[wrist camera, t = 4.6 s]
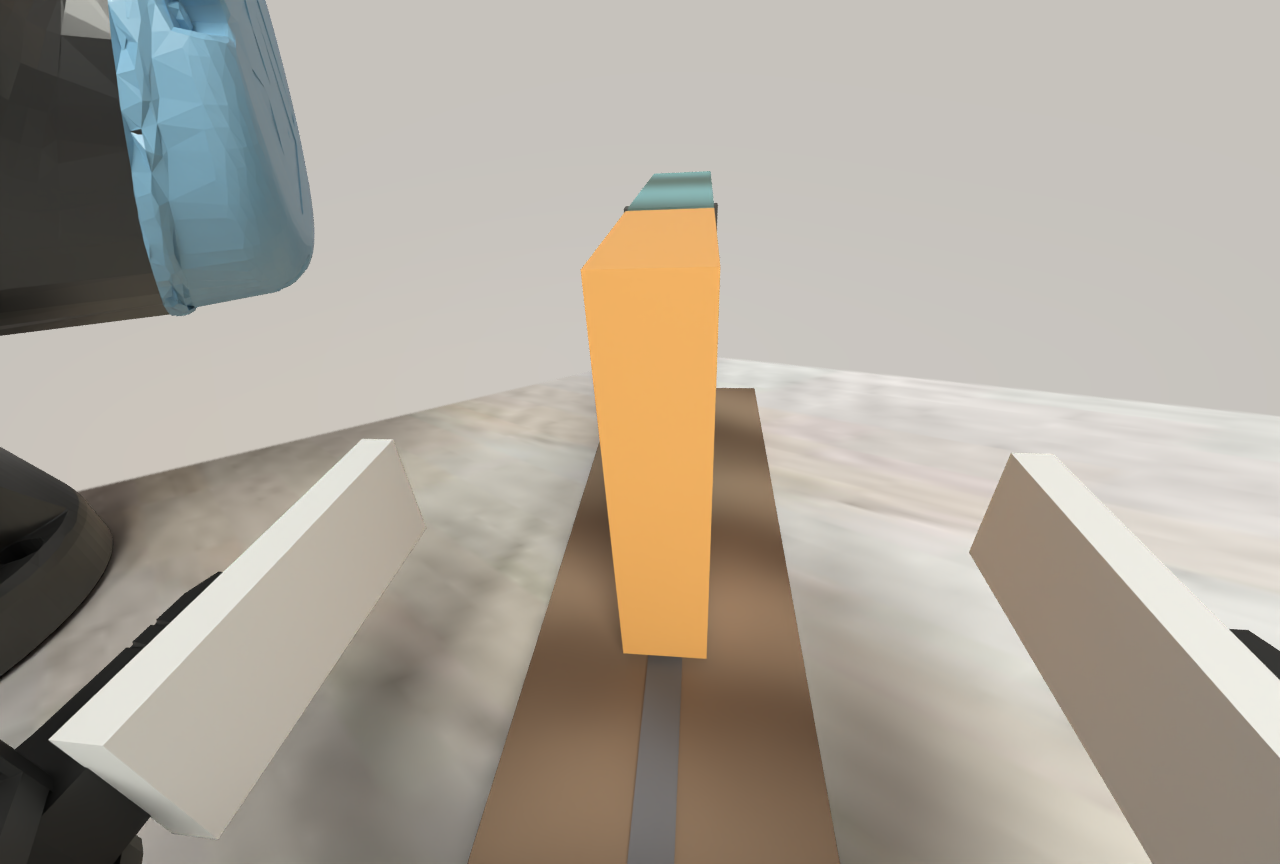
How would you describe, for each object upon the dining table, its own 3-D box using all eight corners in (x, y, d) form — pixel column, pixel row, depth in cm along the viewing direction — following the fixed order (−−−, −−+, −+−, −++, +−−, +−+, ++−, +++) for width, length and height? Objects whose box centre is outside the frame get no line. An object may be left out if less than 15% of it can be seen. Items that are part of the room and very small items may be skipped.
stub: (706, 659, 14) (720, 266, 8) (623, 653, 15) (580, 269, 9) (705, 516, 19) (714, 207, 13) (643, 514, 20) (625, 211, 14)
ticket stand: (869, 1138, 9) (1576, 812, 2) (432, 1062, 10) (-219, 658, 3) (752, 410, 30) (772, 164, 23) (618, 409, 31) (598, 171, 24)
